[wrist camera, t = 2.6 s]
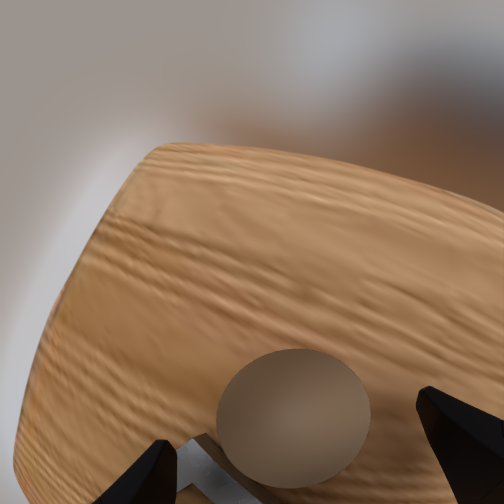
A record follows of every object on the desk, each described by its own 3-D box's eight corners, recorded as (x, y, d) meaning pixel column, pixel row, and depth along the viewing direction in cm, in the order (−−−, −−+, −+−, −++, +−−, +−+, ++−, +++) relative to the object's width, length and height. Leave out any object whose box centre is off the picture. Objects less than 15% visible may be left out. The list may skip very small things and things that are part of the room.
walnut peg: (342, 402, 14) (399, 408, 6) (293, 450, 13) (291, 512, 5) (293, 359, 16) (292, 319, 8) (244, 406, 15) (187, 417, 7)
